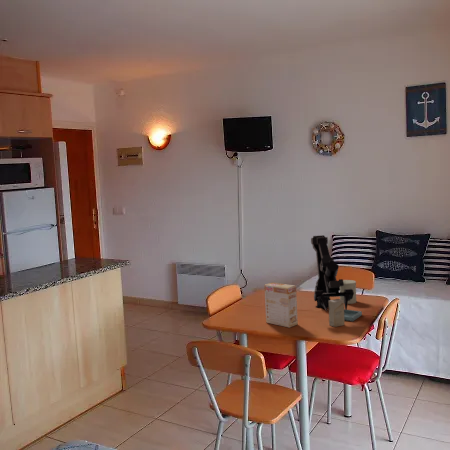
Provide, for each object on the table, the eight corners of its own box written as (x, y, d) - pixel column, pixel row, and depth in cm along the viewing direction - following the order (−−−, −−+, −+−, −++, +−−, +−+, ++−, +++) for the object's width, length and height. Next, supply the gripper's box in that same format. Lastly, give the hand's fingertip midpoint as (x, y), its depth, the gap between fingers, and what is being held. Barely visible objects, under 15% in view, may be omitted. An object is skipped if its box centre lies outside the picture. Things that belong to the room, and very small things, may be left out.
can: (336, 302, 288) (335, 281, 287) (346, 298, 295) (345, 278, 293) (350, 304, 282) (349, 283, 280) (359, 301, 288) (359, 280, 287)
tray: (329, 318, 258) (329, 314, 258) (339, 312, 268) (339, 308, 268) (352, 321, 251) (352, 317, 251) (361, 315, 261) (361, 311, 261)
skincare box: (334, 327, 244) (333, 302, 242) (328, 325, 248) (327, 300, 246) (345, 324, 246) (344, 300, 245) (339, 322, 250) (338, 298, 249)
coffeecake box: (298, 324, 251) (296, 285, 249) (289, 328, 246) (287, 288, 244) (274, 319, 262) (273, 281, 260) (265, 322, 257) (263, 284, 255)
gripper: (313, 274, 249) (318, 302, 240) (352, 272, 249) (358, 300, 239) (311, 287, 258) (316, 314, 248) (348, 285, 258) (355, 312, 248)
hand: (336, 310), depth 246 cm, fingers open, 9 cm apart
